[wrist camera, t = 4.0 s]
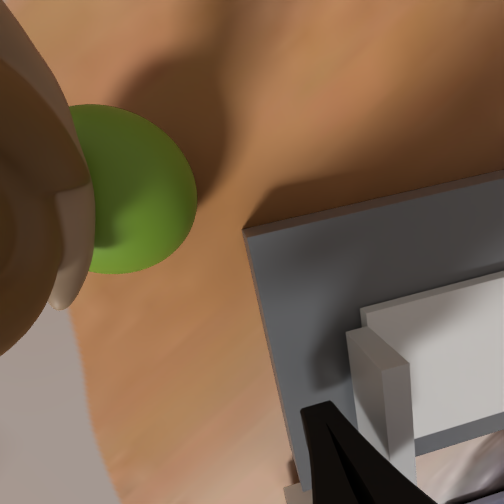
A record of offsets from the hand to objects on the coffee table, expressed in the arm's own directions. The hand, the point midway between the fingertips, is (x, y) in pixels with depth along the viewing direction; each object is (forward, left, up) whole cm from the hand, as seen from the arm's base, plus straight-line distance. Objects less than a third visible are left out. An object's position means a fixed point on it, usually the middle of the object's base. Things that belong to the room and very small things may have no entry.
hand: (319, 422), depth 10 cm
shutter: (0, -6, -1) cm, 6 cm away
